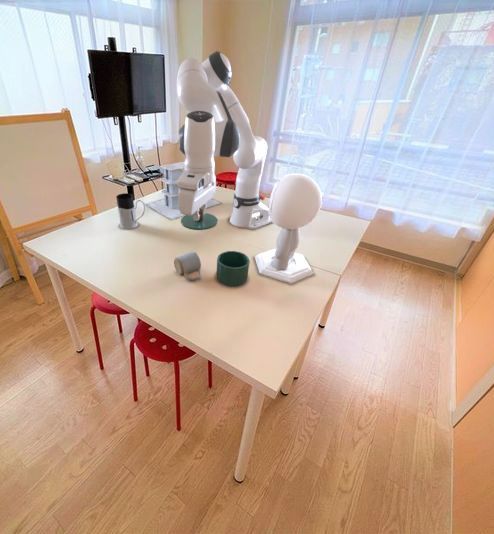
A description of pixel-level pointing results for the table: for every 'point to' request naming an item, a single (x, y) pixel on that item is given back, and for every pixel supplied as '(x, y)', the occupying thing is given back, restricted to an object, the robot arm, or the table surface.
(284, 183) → the globe table lamp
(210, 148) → the robot arm
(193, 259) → the ceramic mug
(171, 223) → the table surface
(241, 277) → the tin
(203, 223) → the lid
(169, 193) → the file organizer
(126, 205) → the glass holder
